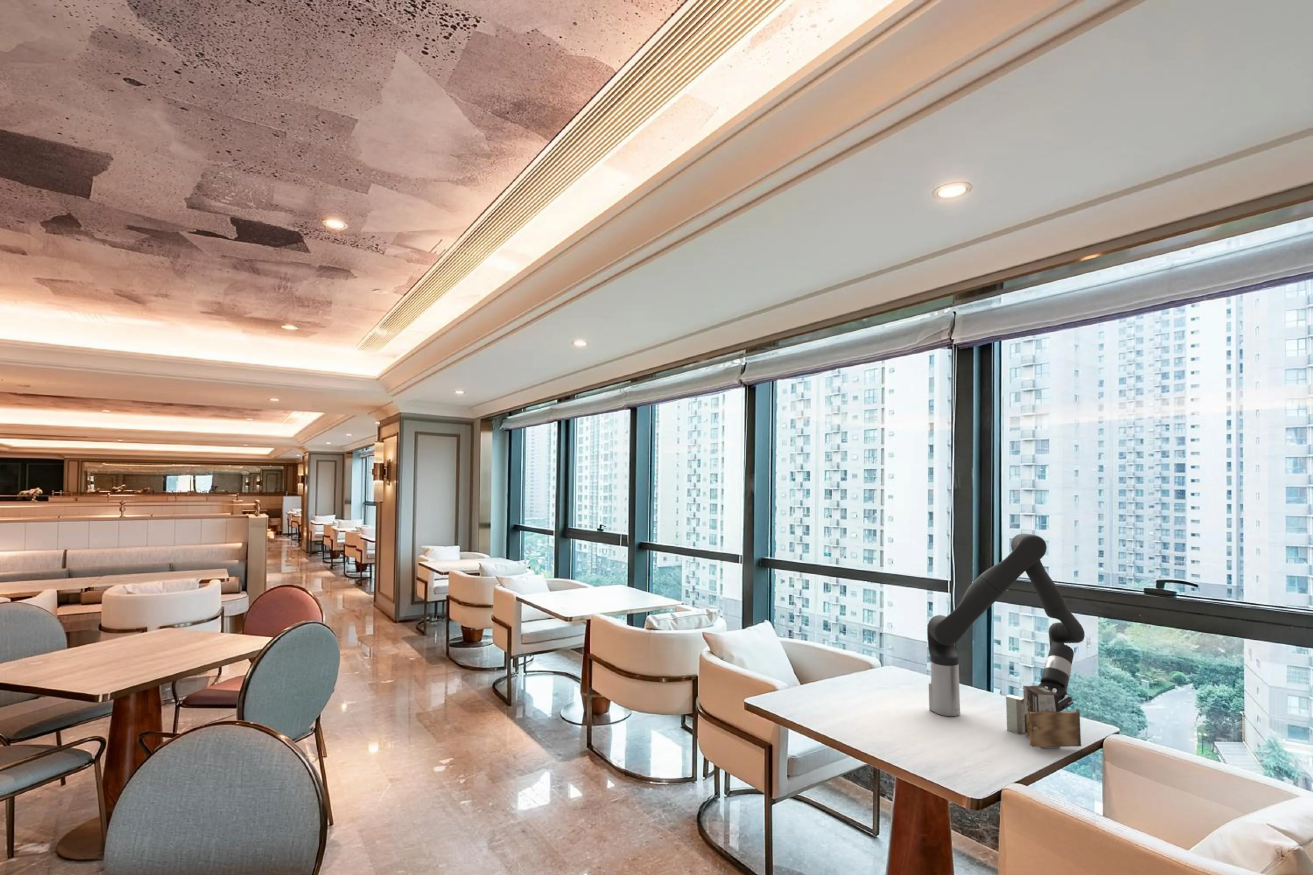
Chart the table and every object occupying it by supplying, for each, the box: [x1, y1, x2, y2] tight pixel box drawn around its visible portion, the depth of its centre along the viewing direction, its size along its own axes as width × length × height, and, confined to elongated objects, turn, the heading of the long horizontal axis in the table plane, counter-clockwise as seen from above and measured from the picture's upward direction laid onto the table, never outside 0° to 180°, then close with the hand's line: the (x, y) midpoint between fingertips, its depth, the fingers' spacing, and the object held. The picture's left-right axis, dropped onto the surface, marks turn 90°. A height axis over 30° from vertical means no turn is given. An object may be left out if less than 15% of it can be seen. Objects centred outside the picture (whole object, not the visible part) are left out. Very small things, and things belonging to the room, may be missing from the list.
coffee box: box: [1022, 685, 1061, 749], centre depth 200 cm, size 9×6×16 cm
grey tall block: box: [1005, 694, 1025, 736], centre depth 208 cm, size 5×3×11 cm, turn 41°
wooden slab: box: [1029, 707, 1082, 748], centre depth 194 cm, size 16×2×11 cm, turn 91°
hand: (1045, 719), depth 204 cm, fingers closed
